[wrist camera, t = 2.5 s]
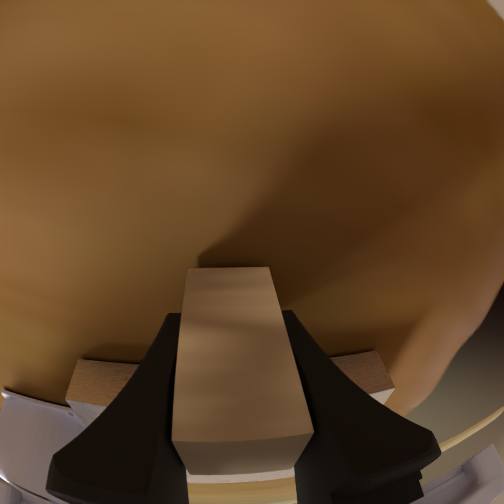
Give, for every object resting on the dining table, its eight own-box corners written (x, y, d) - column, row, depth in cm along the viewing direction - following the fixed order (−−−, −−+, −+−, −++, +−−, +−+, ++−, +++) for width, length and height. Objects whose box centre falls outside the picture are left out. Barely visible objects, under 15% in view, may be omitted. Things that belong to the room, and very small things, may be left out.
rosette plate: (141, 453, 22) (139, 492, 18) (78, 358, 14) (58, 423, 10) (319, 446, 24) (328, 483, 20) (376, 350, 16) (405, 409, 12)
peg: (193, 326, 13) (190, 475, 7) (187, 267, 11) (171, 440, 5) (262, 324, 13) (291, 468, 7) (268, 266, 12) (313, 432, 6)
